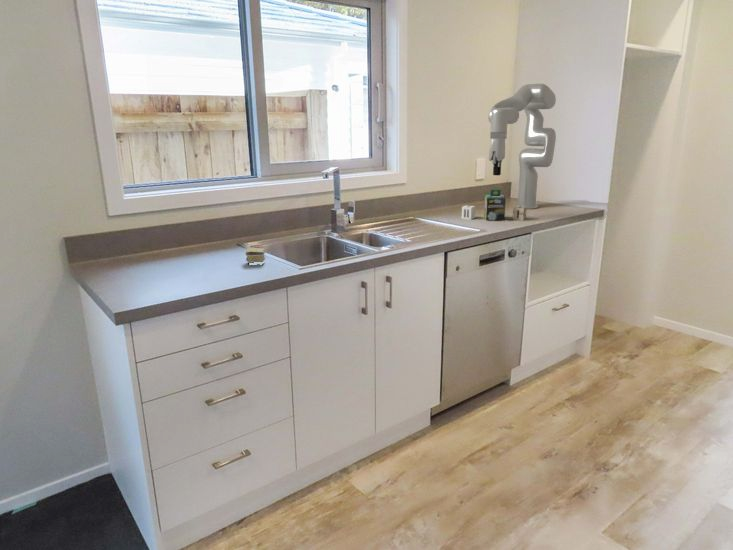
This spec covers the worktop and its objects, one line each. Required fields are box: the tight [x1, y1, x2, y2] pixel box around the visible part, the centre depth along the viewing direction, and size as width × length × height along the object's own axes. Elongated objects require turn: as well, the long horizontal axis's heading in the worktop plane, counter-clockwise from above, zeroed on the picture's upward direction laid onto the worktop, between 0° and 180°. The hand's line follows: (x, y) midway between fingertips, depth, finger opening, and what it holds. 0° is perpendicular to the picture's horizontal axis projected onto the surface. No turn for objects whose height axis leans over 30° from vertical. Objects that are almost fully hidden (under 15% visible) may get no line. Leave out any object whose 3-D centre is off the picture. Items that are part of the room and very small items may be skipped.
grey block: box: [461, 205, 476, 220], centre depth 258 cm, size 5×5×6 cm
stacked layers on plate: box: [245, 247, 266, 264], centre depth 184 cm, size 10×9×6 cm
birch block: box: [512, 206, 528, 222], centre depth 254 cm, size 5×5×6 cm
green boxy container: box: [483, 188, 507, 222], centre depth 254 cm, size 9×9×15 cm
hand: (496, 175), depth 251 cm, fingers closed
